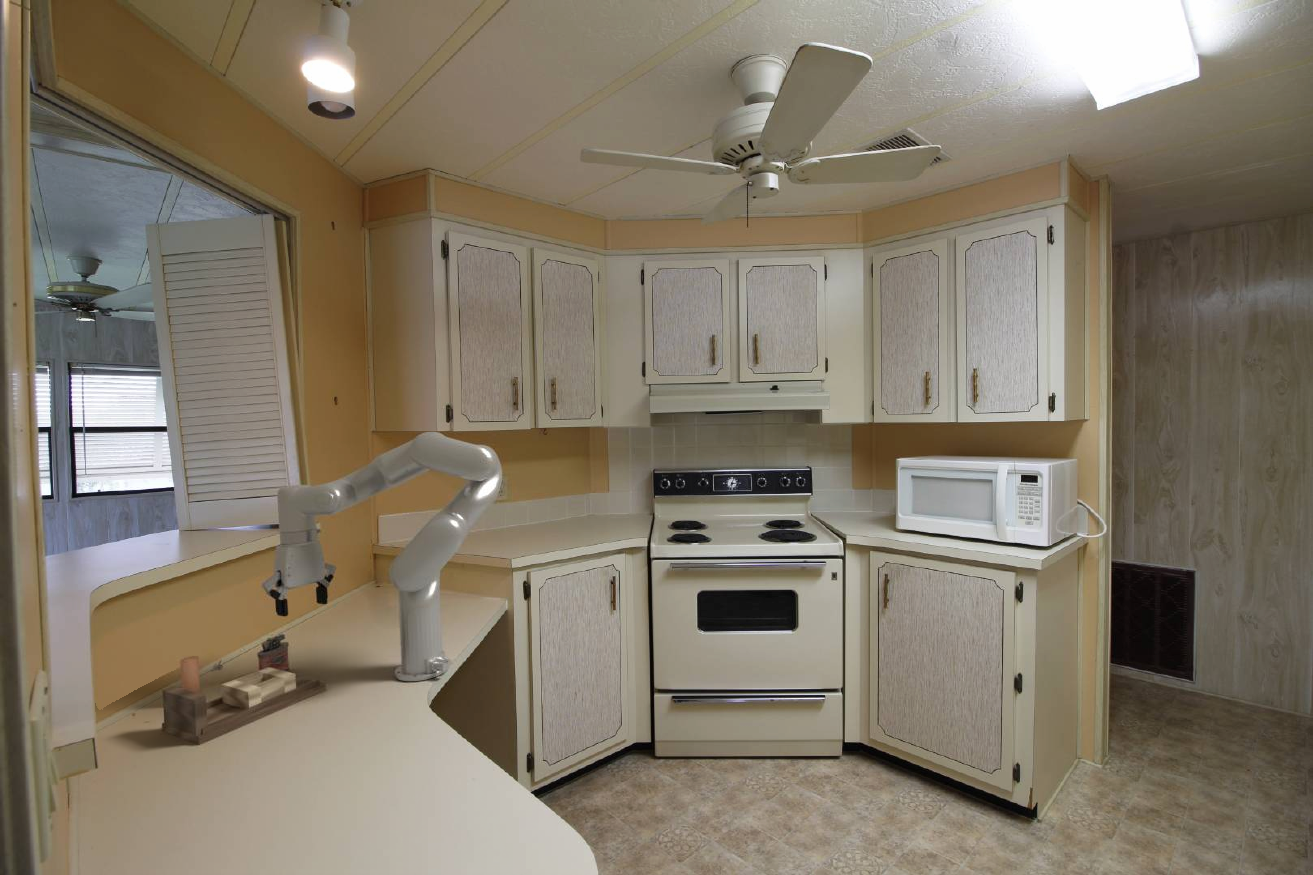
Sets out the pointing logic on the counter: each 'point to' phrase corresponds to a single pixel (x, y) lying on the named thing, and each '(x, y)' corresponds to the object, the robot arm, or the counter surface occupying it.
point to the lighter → (274, 654)
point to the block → (257, 687)
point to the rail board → (223, 711)
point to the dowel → (190, 674)
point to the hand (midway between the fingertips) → (303, 609)
